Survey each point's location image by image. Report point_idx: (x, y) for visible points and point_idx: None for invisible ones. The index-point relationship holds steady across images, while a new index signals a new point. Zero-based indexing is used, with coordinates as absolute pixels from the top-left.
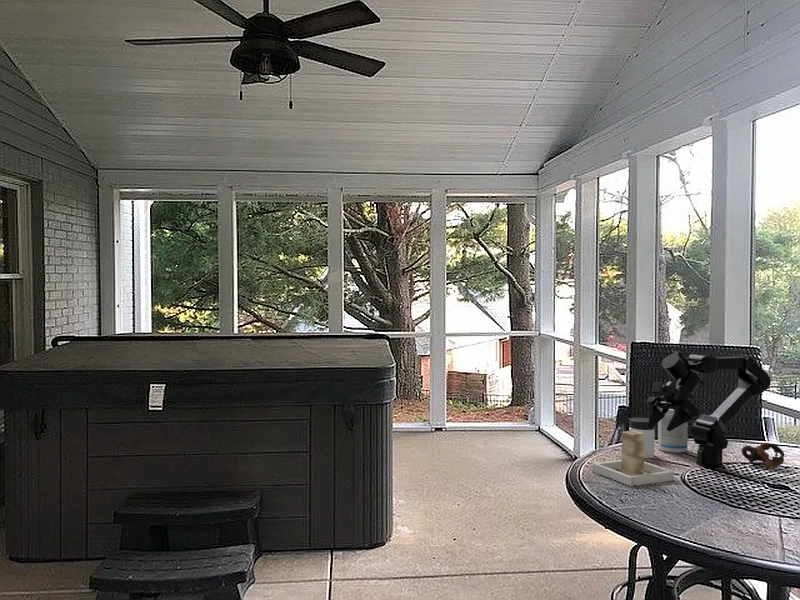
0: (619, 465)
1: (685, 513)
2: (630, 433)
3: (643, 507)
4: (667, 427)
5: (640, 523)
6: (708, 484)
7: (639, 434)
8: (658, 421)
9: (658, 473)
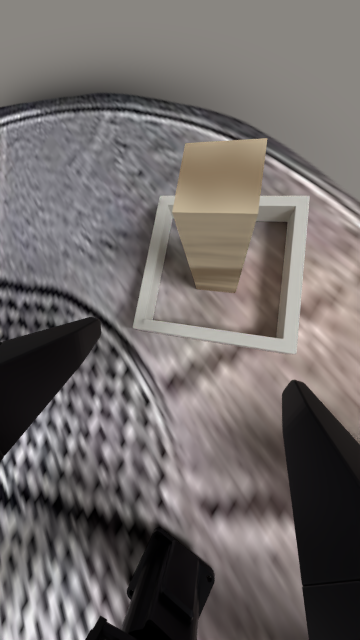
0: (284, 284)
1: (33, 191)
2: (212, 153)
3: (83, 155)
4: (88, 321)
5: (52, 112)
6: (80, 369)
7: (178, 184)
8: (294, 512)
9: (145, 278)
